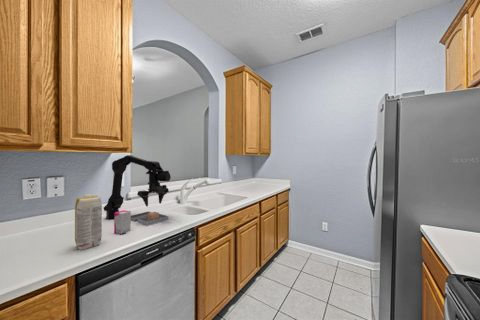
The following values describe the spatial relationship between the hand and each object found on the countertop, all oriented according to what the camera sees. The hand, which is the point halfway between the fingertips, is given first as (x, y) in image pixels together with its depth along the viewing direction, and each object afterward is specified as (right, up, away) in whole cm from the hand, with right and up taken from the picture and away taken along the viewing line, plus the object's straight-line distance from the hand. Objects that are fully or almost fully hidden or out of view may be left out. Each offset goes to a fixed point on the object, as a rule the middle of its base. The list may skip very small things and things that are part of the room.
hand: (153, 204), depth 124 cm
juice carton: (-15, -11, -34) cm, 39 cm away
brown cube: (0, -10, 0) cm, 10 cm away
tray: (0, -11, 0) cm, 11 cm away
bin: (-11, -11, +7) cm, 17 cm away
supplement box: (-9, -11, -18) cm, 23 cm away
